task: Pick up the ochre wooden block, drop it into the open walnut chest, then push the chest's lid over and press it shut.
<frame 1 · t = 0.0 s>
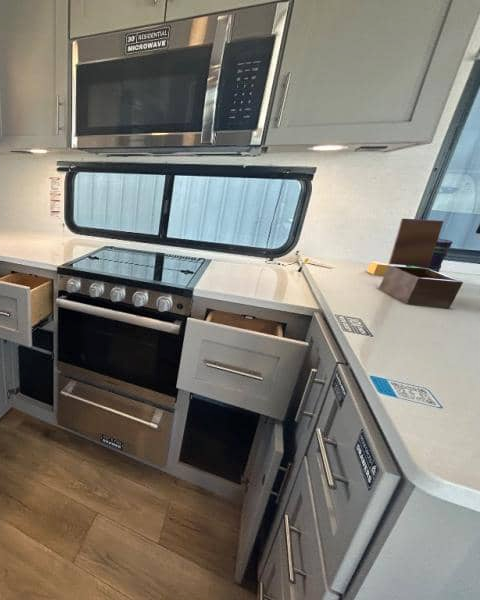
block: (376, 273, 135), on the countertop
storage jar: (418, 276, 135), on the countertop
lid: (415, 242, 111), point 17 cm above the countertop, hinge at 100.0°
chest: (411, 297, 110), on the countertop
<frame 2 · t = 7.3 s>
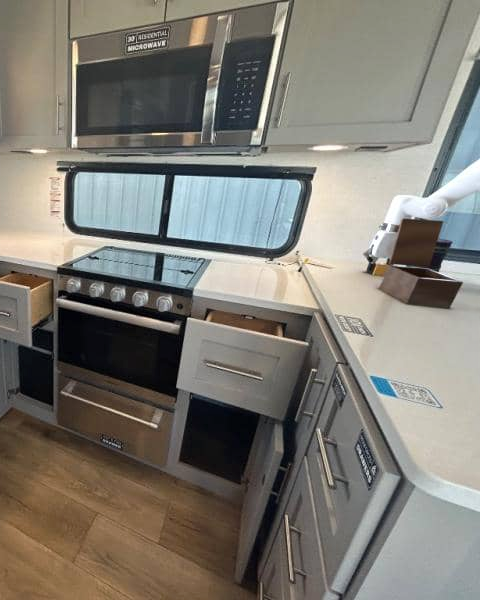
hand: (376, 272, 135), 0 cm above the countertop, tool pointing down, fingers closed on block, 4 cm apart
block: (376, 273, 135), on the countertop, touching gripper
everything else where it was.
when the fingers open (9 cm above the countertop, at t = 16.8 s): block drops 8 cm, resting on chest.
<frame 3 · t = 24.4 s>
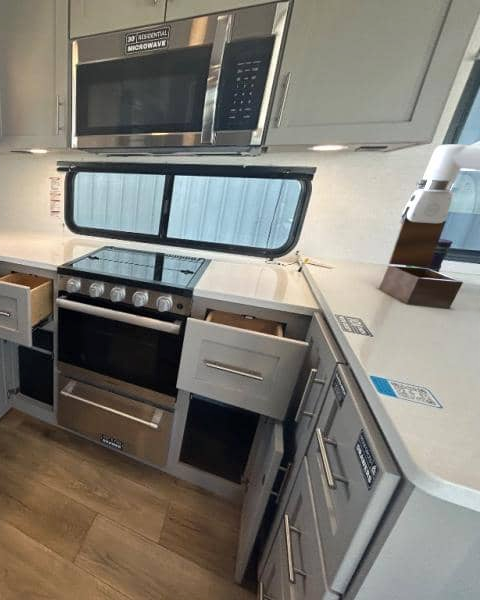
hand: (411, 242, 113), 17 cm above the countertop, tool pointing down, fingers closed
block: (412, 295, 110), point 1 cm above the countertop, touching chest
lid: (416, 243, 111), point 17 cm above the countertop, hinge at 96.3°, touching gripper
everything else where it was.
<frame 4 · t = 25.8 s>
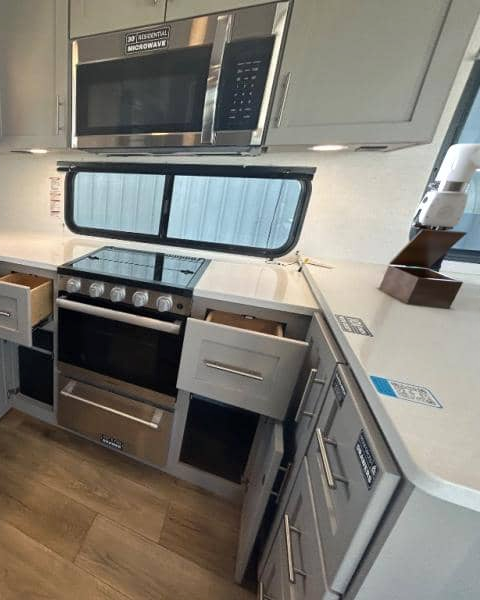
hand: (422, 246, 108), 16 cm above the countertop, tool pointing down, fingers closed
lid: (425, 249, 107), point 16 cm above the countertop, hinge at 59.6°, touching gripper
everything else where it was.
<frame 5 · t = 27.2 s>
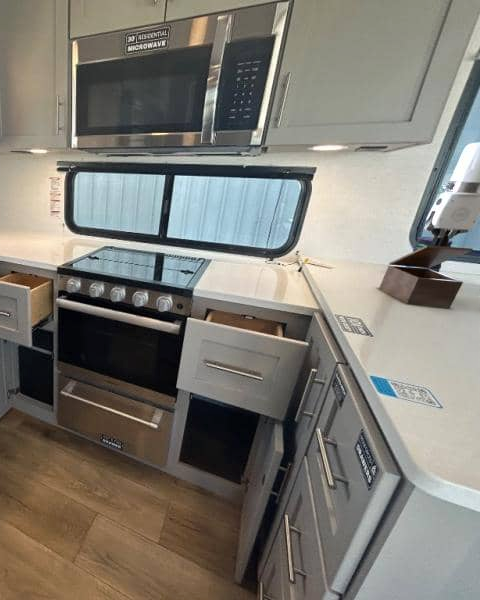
hand: (435, 250, 103), 17 cm above the countertop, tool pointing down, fingers closed
lid: (427, 257, 106), point 14 cm above the countertop, hinge at 36.1°
everything else where it was.
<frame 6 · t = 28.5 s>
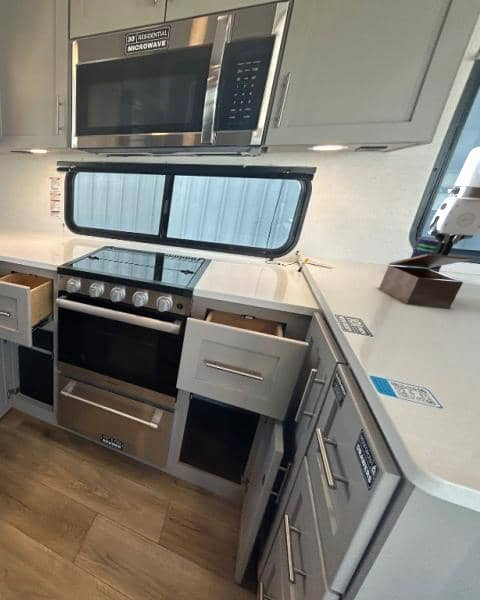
hand: (439, 255, 101), 15 cm above the countertop, tool pointing down, fingers closed
lid: (427, 261, 106), point 13 cm above the countertop, hinge at 25.9°, touching gripper
everything else where it was.
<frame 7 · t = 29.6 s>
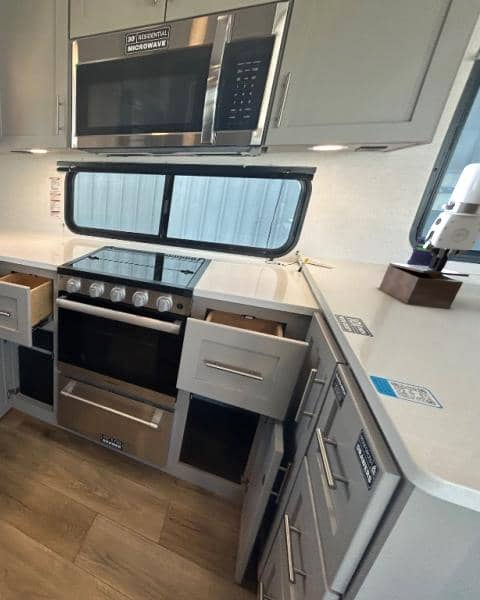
hand: (434, 269, 102), 11 cm above the countertop, tool pointing down, fingers closed
lid: (425, 269, 106), point 10 cm above the countertop, hinge at 6.8°, touching gripper
everything else where it was.
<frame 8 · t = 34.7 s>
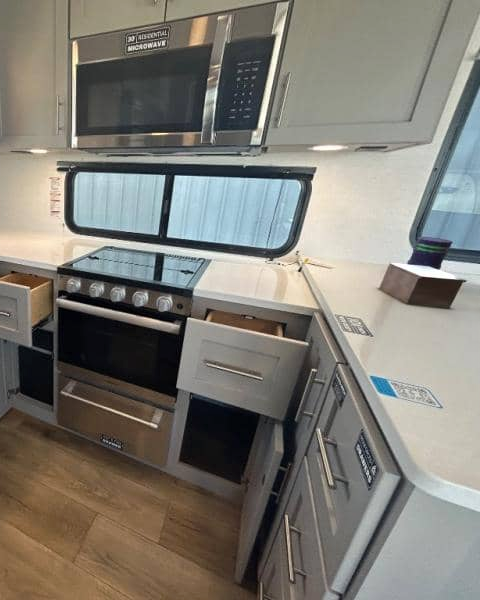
lid: (424, 272, 106), point 9 cm above the countertop, hinge at 0.3°
everything else where it was.
at the end: block inside the target area in the chest (0.0 cm from its centre), point 0.8 cm above the chest's base; lid at +0° (first picture: +100°) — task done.
